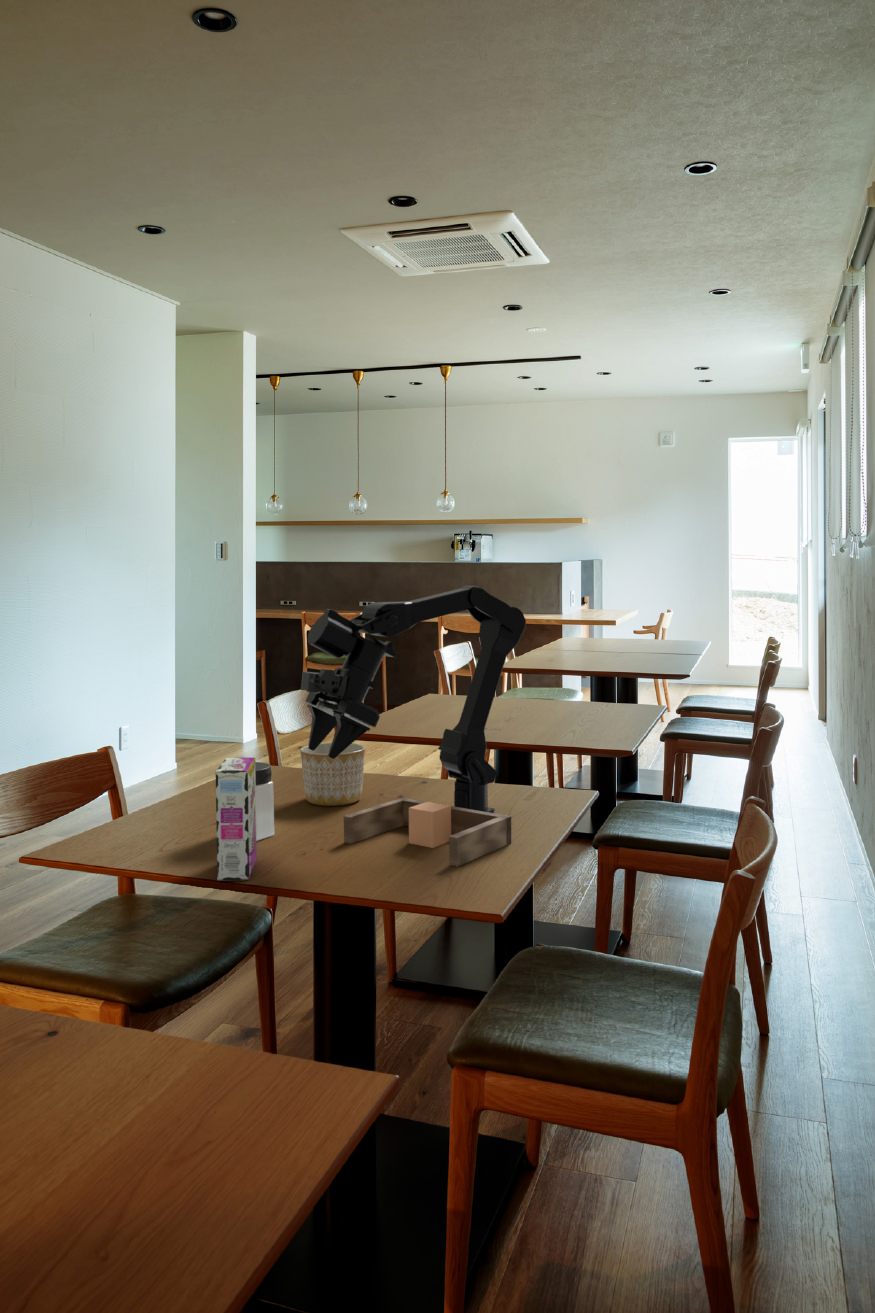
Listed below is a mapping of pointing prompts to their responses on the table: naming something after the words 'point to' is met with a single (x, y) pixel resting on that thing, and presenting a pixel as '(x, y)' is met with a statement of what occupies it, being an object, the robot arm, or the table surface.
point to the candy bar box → (236, 818)
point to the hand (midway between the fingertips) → (320, 753)
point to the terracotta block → (429, 824)
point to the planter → (333, 775)
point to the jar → (264, 801)
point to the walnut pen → (468, 828)
